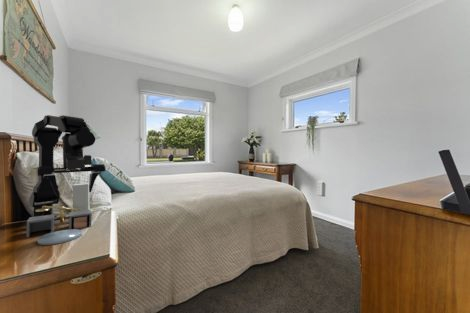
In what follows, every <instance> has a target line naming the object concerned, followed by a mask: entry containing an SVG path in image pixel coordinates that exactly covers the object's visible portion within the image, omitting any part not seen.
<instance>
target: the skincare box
mask: <svg viewBox="0 0 470 313" xmlns="http://www.w3.org/2000/svg"><path fill="white" fill-rule="evenodd" d="M90 207H91V206H90V192H89V182H84V183H74V184H73V185H72V208H74V209H80V211H85V210H90V211H91V209H90ZM72 212H77V210H72Z"/></svg>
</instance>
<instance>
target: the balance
mask: <svg viewBox="0 0 470 313" xmlns="http://www.w3.org/2000/svg"><path fill="white" fill-rule="evenodd" d="M43 207H44V208H43ZM50 208H53V209H57V210H59V219H58V220H54V227H55V226H61V225H66V224H67V225H69V218H65V210H68V211H73V210H77V211H80V209H74V208H73V207H65V206H64V205H62V206H54V205H53V206H42V209H37V210H35V212H43V211H48V210H50Z"/></svg>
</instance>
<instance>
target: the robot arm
mask: <svg viewBox="0 0 470 313" xmlns="http://www.w3.org/2000/svg"><path fill="white" fill-rule="evenodd" d="M49 126H51V127H49ZM52 126H53V127H52ZM63 133H65V134H64V135H63ZM62 135H63V136H62ZM31 136H32V137H33V142H34V143H35V144H36V145H37V147H38V167H37V176H38V182H37V183H36V184H35V185H34V187H33V188H32V192H31V194H30V196H29V199H28V207H30V208H33V212H32V214H33V216H32V217H36V216H44V215H52V214H54V213H53V212H54V208H50V210H48V211H43V212H35V210H37V209H42V206H53V207H54V205H57V204H59V201H60V195H61V193H60V191H59V185H58V182H57V176H56V174H63V173H65V174H66V173H84V172H85V173H86V172H90V173H89V179H88V181H89V182H88V183H89V193H91V192H92V190H93V188H94V184H95V181H96V179H97V177H98V176H99V175H101V174H102V173H104V172H106V165H105V164H104V163H103V164H102V163H101V164H96V163H95V164H92V163H93V162H92V155H89V154H88V155H86V154H84V149H85V148H87V147H91V146H93V145H95V142H96V137H95V134H93V132H92V131H91V129H90V128H89V126H88V125H87V122H86V121H85V119H84V118H82V117H76V116H68V115H59V116H54V115H49V114H47V115H44V117H43V119H41V120H39V121H37V122H35V123H34V126H33V128H32V130H31ZM61 136H62V137H61ZM60 138H61V140H62V164H63V165H62V167H55V166H54V147H56V145H57V144H58V143H59V141H60ZM43 208H44V207H43ZM56 217H57V215H54V219H55V218H56Z"/></svg>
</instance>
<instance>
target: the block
mask: <svg viewBox="0 0 470 313" xmlns="http://www.w3.org/2000/svg"><path fill="white" fill-rule="evenodd" d="M72 227H73V229H80V228H86V227H88V223H87V215H85V216H78V217H74V220H73V226H72Z"/></svg>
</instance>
